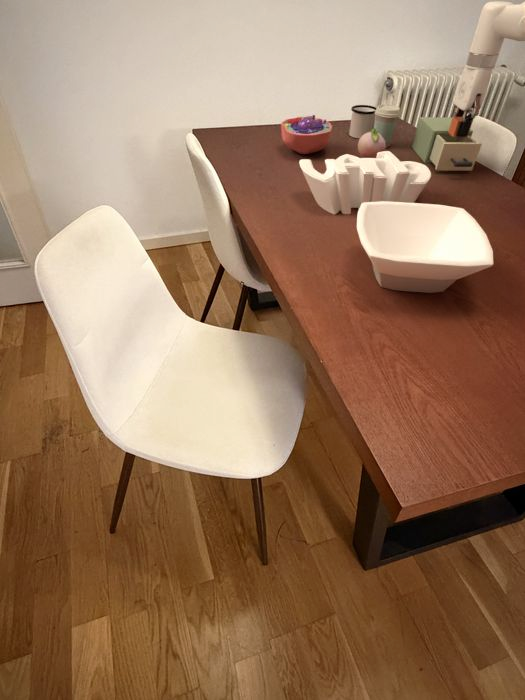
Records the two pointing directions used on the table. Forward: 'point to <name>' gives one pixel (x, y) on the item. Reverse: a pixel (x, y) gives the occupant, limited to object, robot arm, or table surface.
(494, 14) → the robot arm
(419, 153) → the cabinet
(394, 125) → the coffee cup
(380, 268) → the bowl
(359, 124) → the mug
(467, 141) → the drawer
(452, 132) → the block
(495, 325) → the table surface
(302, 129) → the cell model
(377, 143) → the decorative fruit
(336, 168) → the white wavy slab sculpture
